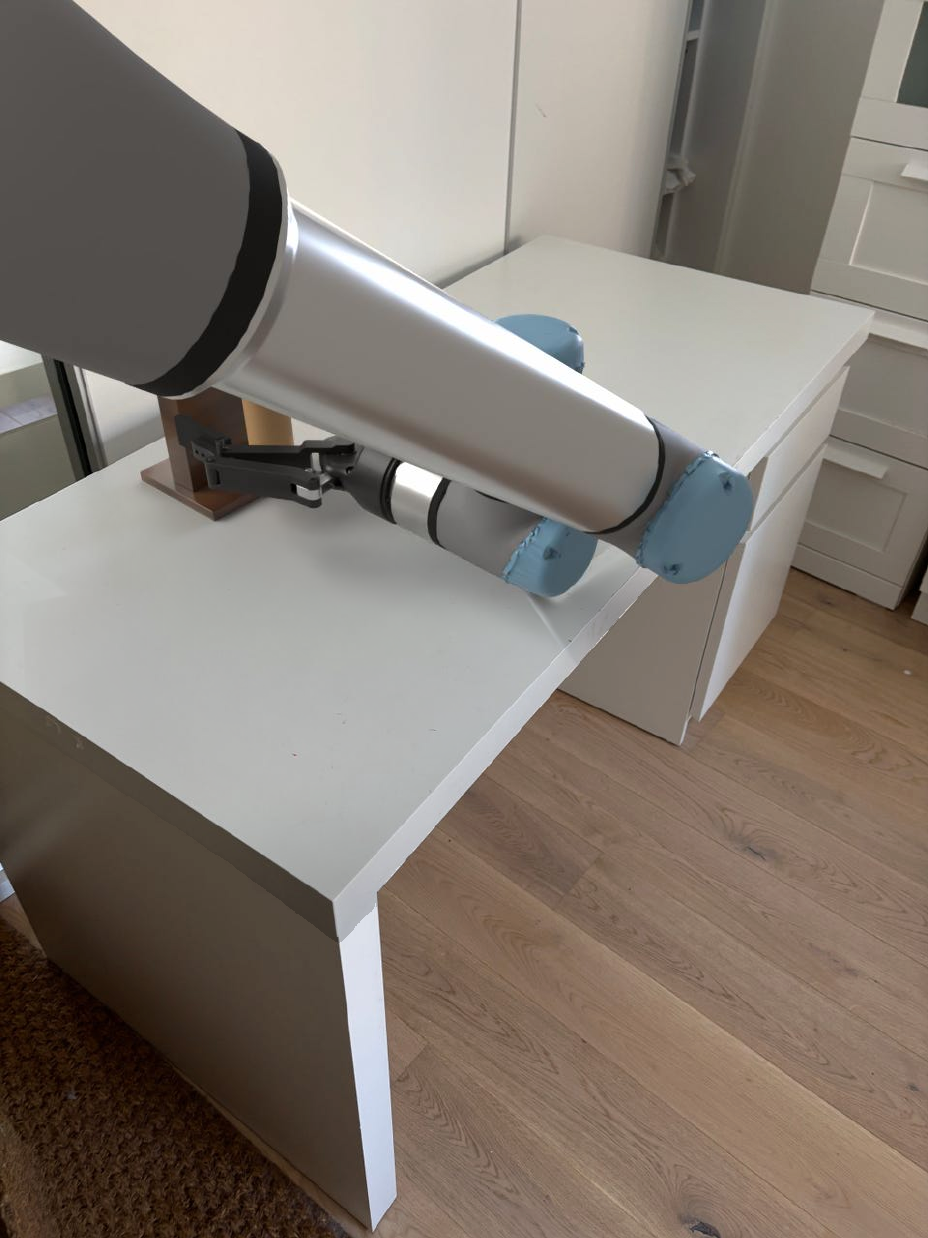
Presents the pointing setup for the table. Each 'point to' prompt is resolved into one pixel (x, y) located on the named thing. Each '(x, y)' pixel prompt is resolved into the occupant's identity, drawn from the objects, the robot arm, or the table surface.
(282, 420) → the round pedestal table
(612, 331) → the table surface
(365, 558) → the table surface
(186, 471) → the wooden stand
